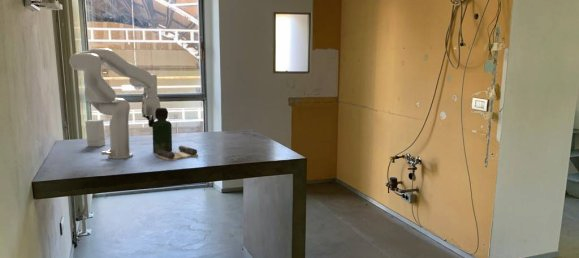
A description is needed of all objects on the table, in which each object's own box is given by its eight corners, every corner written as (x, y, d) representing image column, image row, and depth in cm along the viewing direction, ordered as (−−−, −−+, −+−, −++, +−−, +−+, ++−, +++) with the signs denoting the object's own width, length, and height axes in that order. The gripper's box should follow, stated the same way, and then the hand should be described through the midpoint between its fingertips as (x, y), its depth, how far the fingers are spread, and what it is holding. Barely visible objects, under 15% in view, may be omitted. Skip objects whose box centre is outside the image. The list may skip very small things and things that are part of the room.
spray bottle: (166, 154, 243) (165, 109, 239) (149, 153, 245) (148, 109, 241) (175, 150, 253) (174, 107, 249) (158, 149, 255) (157, 107, 251)
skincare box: (105, 144, 265) (104, 119, 262) (99, 147, 258) (98, 121, 256) (92, 144, 266) (91, 119, 263) (86, 146, 259) (84, 120, 257)
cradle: (168, 160, 227) (168, 153, 227) (155, 156, 237) (155, 149, 236) (198, 155, 240) (197, 148, 240) (184, 151, 250) (183, 145, 249)
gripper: (141, 96, 244) (142, 128, 247) (165, 95, 255) (166, 126, 258) (135, 95, 249) (136, 127, 252) (158, 94, 260) (159, 124, 263)
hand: (151, 126), depth 255 cm, fingers closed
